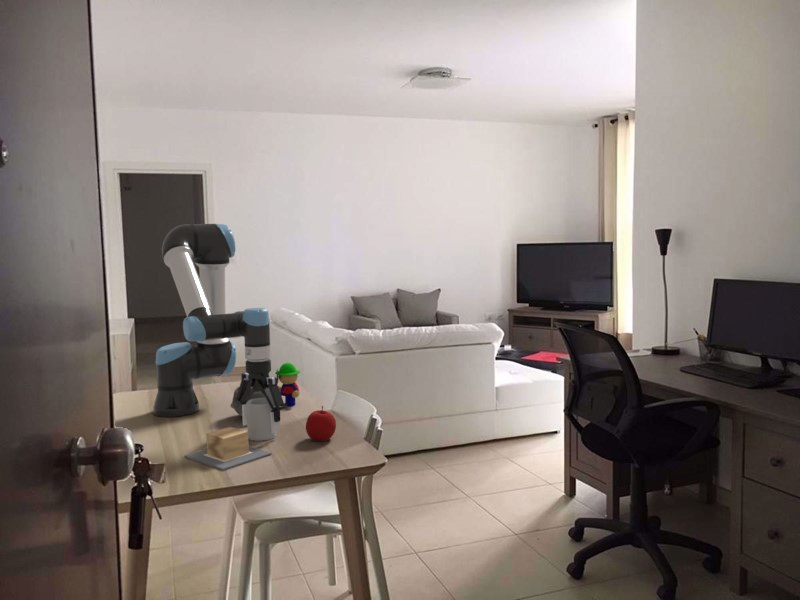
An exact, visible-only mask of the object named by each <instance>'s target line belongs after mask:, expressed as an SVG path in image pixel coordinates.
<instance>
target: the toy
mask: <svg viewBox="0 0 800 600" xmlns="http://www.w3.org/2000/svg"><path fill="white" fill-rule="evenodd" d="M276 369H277V370H276V372H275V375H276V378H277V385H278V383H279V382H280V383H281V384H282V385H278V388H279V391H280V393H281V396H282V397H284V402H285V403H284V405H286V406H285V407H294V406H296V398H299V396H300V389H299V386H298V383H297V382H296V381H297V380H298V375H299V374H300V373H301V370H299V369H296V367H295V365H294V364H293V363H291V362H285V363H283V364H281V366H280V368H276Z"/></svg>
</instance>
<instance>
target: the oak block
mask: <svg viewBox="0 0 800 600" xmlns="http://www.w3.org/2000/svg"><path fill="white" fill-rule="evenodd" d="M206 449H207V455H210V456H213V457H216V458H219V459H222V460H228V459H231V458H234V457H237V456H240V455H243V454H246V453H249V439H248V432H247V430H243V429H240V428H236V427H233V426H227V427H224V428H222V429H217V430H214V431H210V432H207V433H206Z"/></svg>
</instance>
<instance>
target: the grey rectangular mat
mask: <svg viewBox="0 0 800 600" xmlns="http://www.w3.org/2000/svg"><path fill="white" fill-rule="evenodd" d="M271 455H273V453H272V452H270V451H267V450H264V449H260V448H256V447H254V446H251V445H250V446H249V453H246V454H243V455H240V456H237V457H234V458H231V459H228V460H222V459H219V458H216V457H213V456H210V455H207V448H204V449H201V450H197V451H194V452H190V453H187V454H184V458H186V459H189V460H191V461H195V462H197V463H200V464H203V465H206V466H209V467H212V468H215V469H217V470H220V471H227V470H229V469H232V468H235V467H238V466H242V465H245V464H247V463H251V462H254V461H256V460H259V459H262V458H265V457H269V456H271Z"/></svg>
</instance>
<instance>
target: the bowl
mask: <svg viewBox="0 0 800 600" xmlns="http://www.w3.org/2000/svg"><path fill="white" fill-rule="evenodd" d="M239 387H240V385H239V386H237V387H236V388H235V390H234V392H233V397H232V401H231V403H230V408H232V409H233V410H234V411H235V412H236V414H238V416H241V417H242V410H241V404H240V402H239V401H237V400H236V398H237V394H238V391H239ZM256 398H266V397H265V396H264V394H263V393H261V391H258V390H255V391H254V393H253V395H252V397H251V398H250V400H251V399H256Z"/></svg>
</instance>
